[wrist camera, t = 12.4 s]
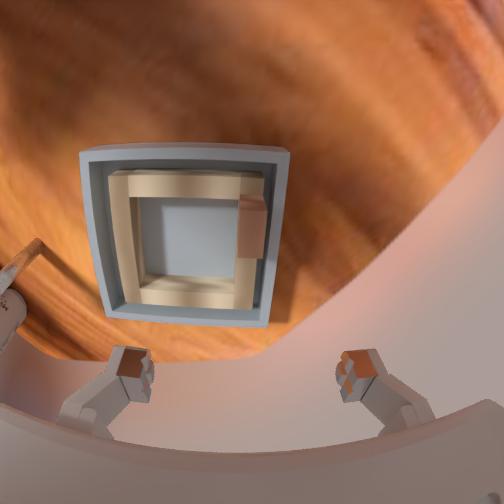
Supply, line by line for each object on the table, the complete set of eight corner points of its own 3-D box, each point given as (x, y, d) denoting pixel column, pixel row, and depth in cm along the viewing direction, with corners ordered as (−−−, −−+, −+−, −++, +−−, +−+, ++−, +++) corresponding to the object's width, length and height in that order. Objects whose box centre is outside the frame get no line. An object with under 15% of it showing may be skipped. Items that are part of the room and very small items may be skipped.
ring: (133, 286, 32) (114, 326, 26) (120, 168, 26) (88, 188, 19) (250, 293, 33) (254, 335, 27) (261, 171, 27) (269, 192, 21)
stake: (30, 251, 30) (-26, 310, 19) (26, 237, 29) (-33, 294, 18) (50, 252, 30) (-6, 316, 19) (47, 238, 30) (-13, 299, 18)
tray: (116, 296, 34) (106, 316, 30) (97, 145, 25) (79, 151, 22) (264, 305, 36) (267, 327, 32) (283, 147, 27) (290, 153, 23)
